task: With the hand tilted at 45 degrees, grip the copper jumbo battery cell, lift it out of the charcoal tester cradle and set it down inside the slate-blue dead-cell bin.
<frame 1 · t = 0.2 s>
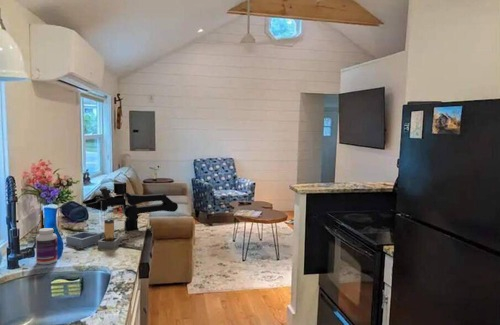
hand: (84, 203, 203), 17 cm above the worktop, tool horizontal, fingers open, 9 cm apart
tester cradle: (109, 246, 185), on the worktop
jumbo cell: (109, 233, 185), in the tester cradle
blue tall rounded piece: (53, 233, 205), on the worktop
pill bottle: (47, 262, 161), on the worktop
dead-cell bin: (83, 243, 189), on the worktop
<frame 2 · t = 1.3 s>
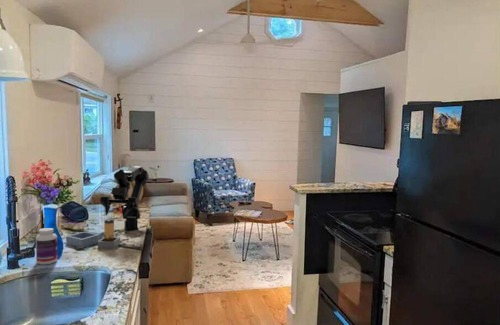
hand: (114, 215, 192), 14 cm above the worktop, tool tilted 45°, fingers open, 9 cm apart
nothing on the worktop moved.
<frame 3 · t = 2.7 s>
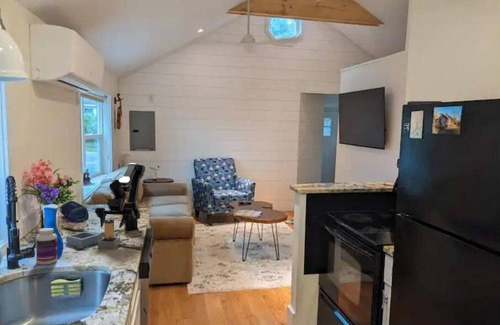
hand: (110, 227, 186), 9 cm above the worktop, tool tilted 45°, fingers open, 9 cm apart
nothing on the worktop moved.
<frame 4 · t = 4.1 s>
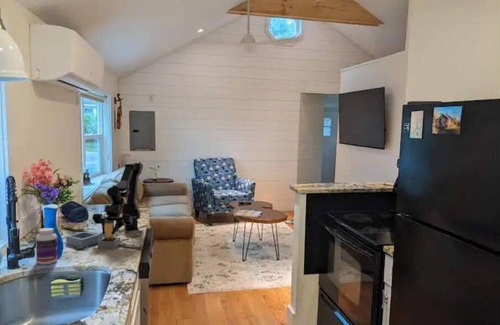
hand: (108, 234, 183), 7 cm above the worktop, tool tilted 45°, fingers closed on jumbo cell, 4 cm apart
jumbo cell: (109, 233, 185), in the tester cradle, touching gripper
everything else where it was.
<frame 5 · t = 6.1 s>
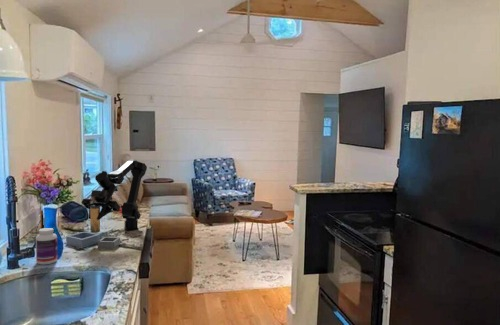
hand: (93, 219, 184), 13 cm above the worktop, tool tilted 45°, fingers closed on jumbo cell, 4 cm apart
jumbo cell: (95, 218, 185), point 13 cm above the worktop, touching gripper
everything else where it was.
when the fingers open (9 cm above the worktop, at t = 8.1 s): jumbo cell drops 1 cm, resting on dead-cell bin.
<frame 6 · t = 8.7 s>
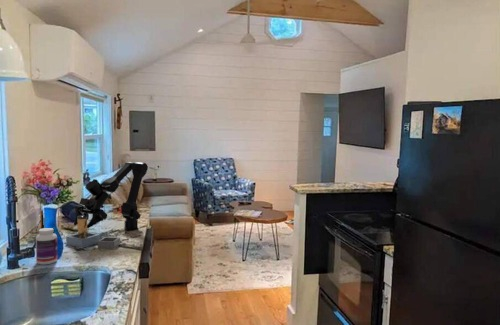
hand: (80, 226, 187), 9 cm above the worktop, tool tilted 45°, fingers open, 9 cm apart
jumbo cell: (82, 228, 188), in the dead-cell bin, point 7 cm above the worktop
everything else where it was.
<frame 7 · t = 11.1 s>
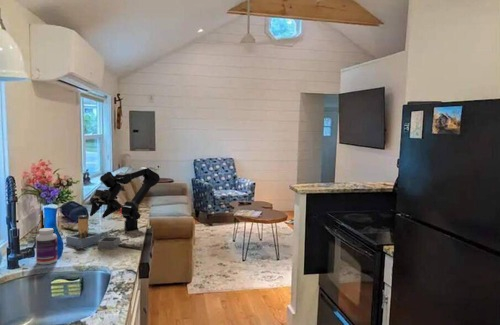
hand: (96, 216, 195), 12 cm above the worktop, tool tilted 45°, fingers open, 9 cm apart
nothing on the worktop moved.
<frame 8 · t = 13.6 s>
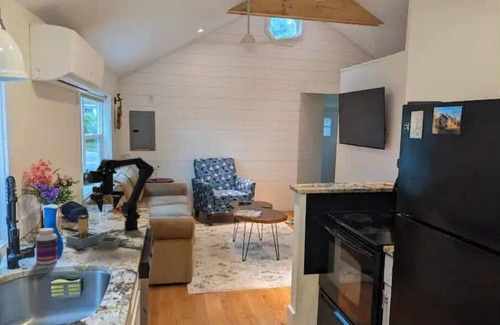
hand: (107, 210, 206), 13 cm above the worktop, tool pointing down, fingers open, 9 cm apart
nothing on the worktop moved.
at the end: jumbo cell inside the target area on the dead-cell bin (0.0 cm from its centre), point 7.3 cm above the dead-cell bin's base; the gripper is holding nothing; jumbo cell moved 14.9 cm from its start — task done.
